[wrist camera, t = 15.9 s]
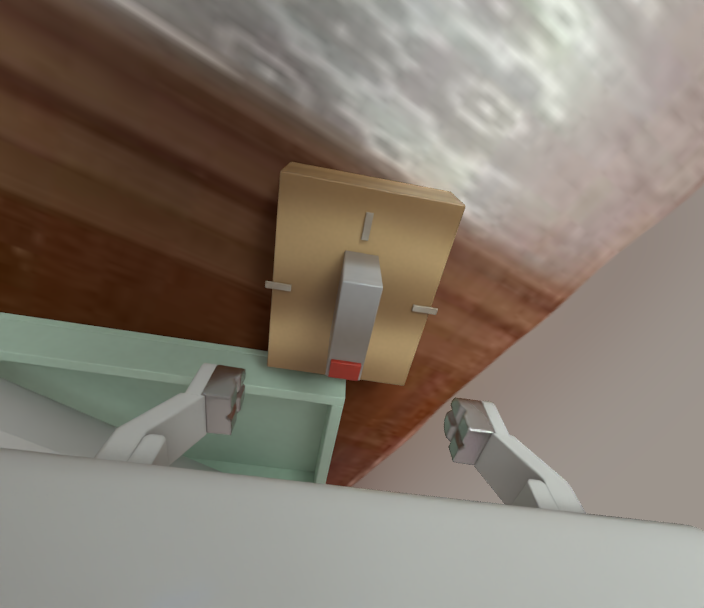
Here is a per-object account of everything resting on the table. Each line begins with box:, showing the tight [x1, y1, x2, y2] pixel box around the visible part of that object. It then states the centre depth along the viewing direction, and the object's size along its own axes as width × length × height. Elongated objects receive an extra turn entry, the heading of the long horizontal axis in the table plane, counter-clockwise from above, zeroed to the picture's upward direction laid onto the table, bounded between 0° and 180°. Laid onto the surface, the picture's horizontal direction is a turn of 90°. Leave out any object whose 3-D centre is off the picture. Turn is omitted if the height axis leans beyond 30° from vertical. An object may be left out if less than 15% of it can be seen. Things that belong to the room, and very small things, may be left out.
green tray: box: [0, 312, 346, 484], centre depth 26 cm, size 14×30×4 cm, turn 80°
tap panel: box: [265, 162, 465, 386], centre depth 20 cm, size 12×10×3 cm
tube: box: [0, 377, 223, 473], centre depth 23 cm, size 5×5×25 cm
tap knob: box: [325, 250, 383, 381], centre depth 17 cm, size 6×2×4 cm, turn 170°
